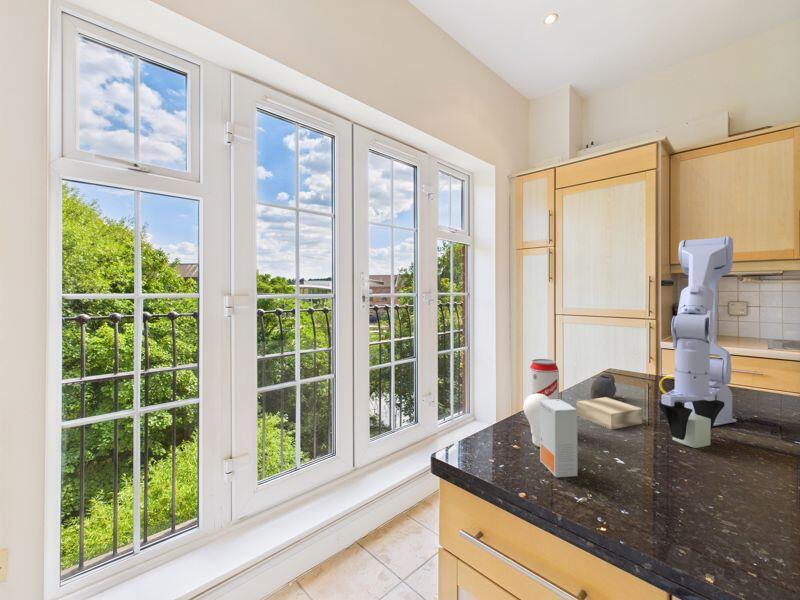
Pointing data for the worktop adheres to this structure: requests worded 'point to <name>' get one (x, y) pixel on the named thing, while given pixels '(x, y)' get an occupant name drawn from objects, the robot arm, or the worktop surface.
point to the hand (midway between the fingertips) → (691, 435)
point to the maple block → (609, 412)
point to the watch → (663, 379)
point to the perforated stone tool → (603, 387)
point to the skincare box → (558, 437)
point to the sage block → (697, 431)
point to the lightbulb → (534, 415)
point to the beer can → (544, 378)
